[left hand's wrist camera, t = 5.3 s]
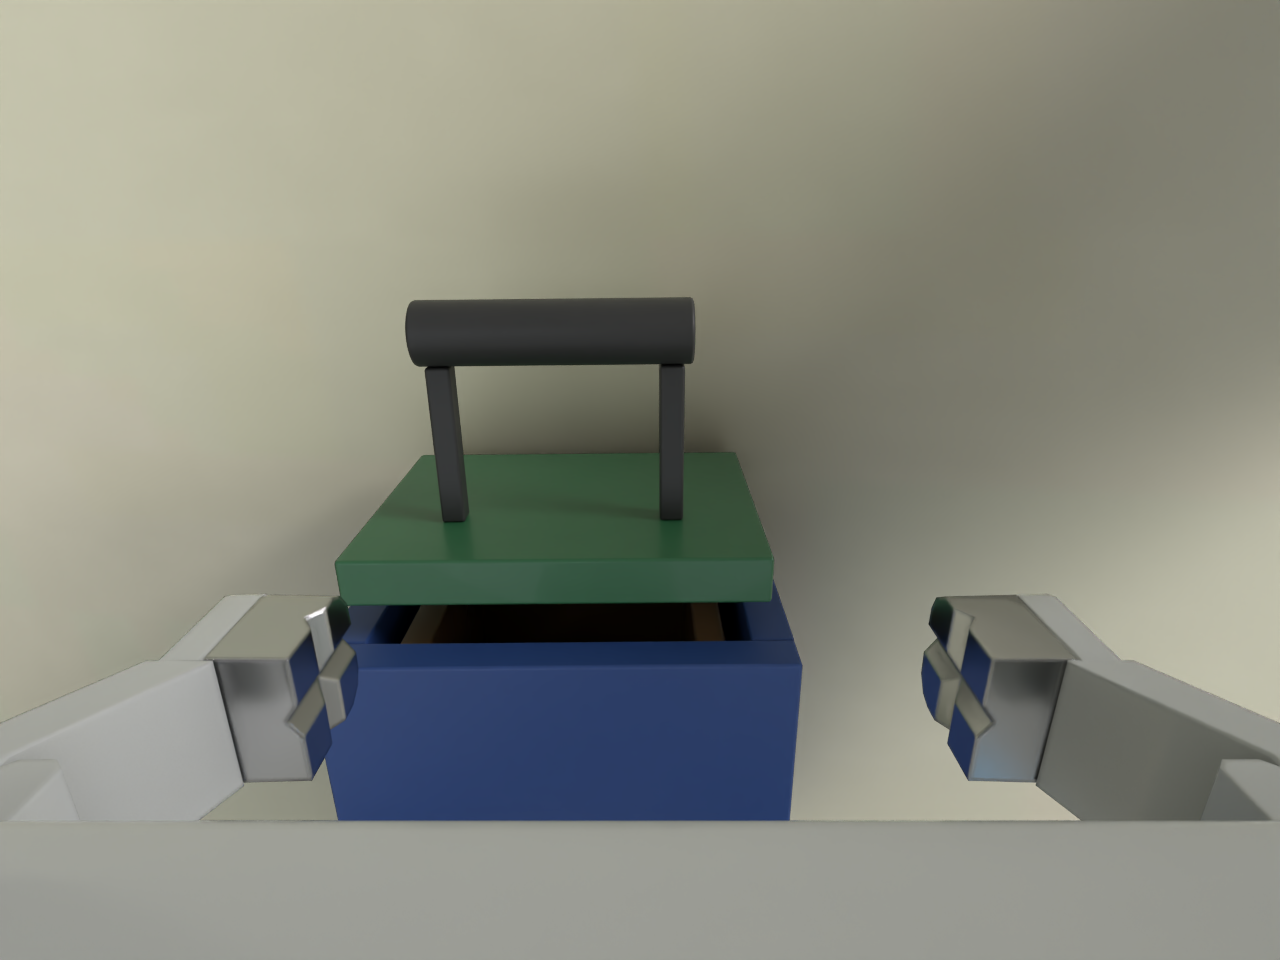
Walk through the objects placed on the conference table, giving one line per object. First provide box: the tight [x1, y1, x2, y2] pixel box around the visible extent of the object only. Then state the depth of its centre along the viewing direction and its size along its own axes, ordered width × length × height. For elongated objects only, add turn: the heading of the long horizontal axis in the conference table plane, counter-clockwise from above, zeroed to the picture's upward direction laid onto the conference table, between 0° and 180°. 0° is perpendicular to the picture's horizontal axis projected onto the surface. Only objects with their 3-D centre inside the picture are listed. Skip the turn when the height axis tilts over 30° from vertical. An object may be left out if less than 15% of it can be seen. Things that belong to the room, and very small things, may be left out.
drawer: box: [335, 297, 774, 644], centre depth 22 cm, size 19×10×7 cm, turn 1°
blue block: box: [325, 580, 802, 821], centre depth 24 cm, size 14×11×10 cm
